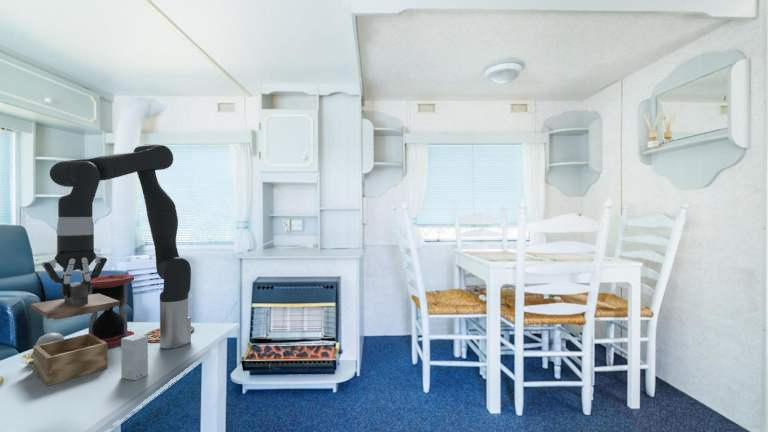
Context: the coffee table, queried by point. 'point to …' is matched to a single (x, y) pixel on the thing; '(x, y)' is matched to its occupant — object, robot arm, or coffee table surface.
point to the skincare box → (134, 357)
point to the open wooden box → (69, 358)
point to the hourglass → (110, 322)
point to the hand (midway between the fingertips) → (76, 295)
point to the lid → (75, 303)
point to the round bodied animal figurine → (48, 339)
